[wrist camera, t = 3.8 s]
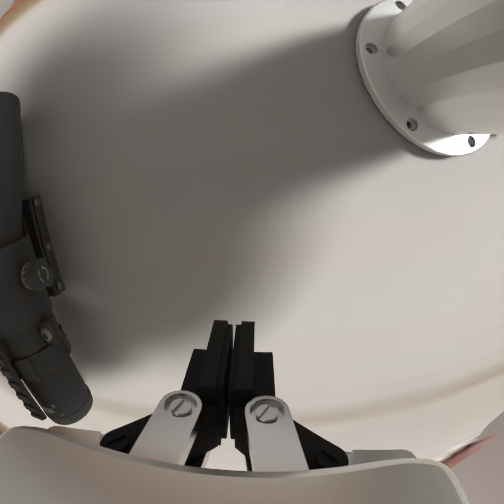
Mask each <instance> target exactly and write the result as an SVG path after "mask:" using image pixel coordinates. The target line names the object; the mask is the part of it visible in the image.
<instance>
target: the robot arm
mask: <svg viewBox="0 0 504 504" xmlns="http://www.w3.org/2000/svg"><path fill="white" fill-rule="evenodd" d="M367 50H368V51H369V52H370V53H369V52H368V51H367ZM356 56H357V61H358V66H359V71H360V73H361V76H362V78H363V81H364V84H365V86H366V88H367V90H368V92H369V94H370V96H371V97H372V99H373V101H374V103H375V104H376V106H377V107H378V109H379V110H380V111H381V113H382V114H383V116H384V117H385V118H386V119H387V120H388V121H389V122H390V124H391V125H392V126H393V127H394V128H395V129H396V130H397V131H398V132H399V133H400V134H402V135H403V136H404V137H405V138H407V139H408V140H409V141H410V142H412V143H413V144H415V145H417V146H419V147H420V148H422V149H424V150H426V151H429V152H432V153H434V154H437V155H445V156H464V155H467V154H471V153H473V152H474V151H476V150H478V149H479V148H481V147H482V145H483V144H484V143H485V142H486V141H487V140H488V138H489V136H490V134H500V135H504V0H384V1H381V2H379V3H378V4H376V5H375V6H373V7H372V8H371V9H370V10H369V11H368V13H367V14H366V15H365V16H364V18H363V20H362V22H361V23H360V25H359V27H358V32H357V36H356ZM407 123H408V125H409V127H407ZM254 324H255V322H245V321H242V322H241V325H236V331H235V339H234V347H233V325H232V324H228V321H221V320H214V323H213V327H212V331H211V335H210V338H209V342H208V346H207V350H203V349H194V350H193V353H192V356H191V359H190V362H189V366H188V369H187V372H186V375H185V378H184V381H183V385H182V388H181V390H180V391H173V392H170V393H168V394H167V395H165V396H164V397H163V398H162V399H161V401H160V402H159V404H158V406H157V407H156V409H155V411H154V412H153V414H151V415H148V416H146V417H144V418H141V419H139V420H137V421H134V422H132V423H130V424H127V425H125V426H122V427H120V428H117V429H115V430H112V431H110V432H108V433H106V434H101V432H100V431H90V430H82V429H74V428H68V427H61V426H53V427H50V428H49V429H44V428H39V427H29V426H18V427H13V428H10V429H8V430H6V431H5V432H4V433H3V434H2V435H1V436H0V504H470V503H469V500H468V498H467V496H466V494H465V491H464V490H463V488H462V486H461V484H460V482H459V481H458V479H457V477H456V476H455V474H454V473H453V472H452V471H451V470H450V469H449V468H448V467H447V466H446V465H444V464H443V463H440V462H438V461H433V460H428V459H418V458H416V457H415V456H414V455H413V453H411V452H409V451H407V450H353V451H352V452H344V451H343V450H342V449H341V448H339V447H338V446H336V445H334V444H332V443H330V442H329V441H327V440H325V439H323V438H322V437H320V436H318V435H317V434H315V433H313V432H312V431H310V430H308V429H307V428H305V427H304V426H302V425H300V424H299V423H297V422H296V421H294V420H293V419H292V416H291V413H290V410H289V407H288V405H287V404H286V403H285V402H284V401H283V400H281V399H279V398H277V397H275V384H274V369H273V354H272V352H254ZM229 416H230V435H231V439H235V448H236V449H238V450H239V451H240V452H241V453H242V454H244V459H245V466H246V471H232V470H218V469H208V468H205V466H206V463H207V461H208V458H209V453H210V450H212V449H214V448H215V447H217V446H218V445H221V438H227V430H228V421H229Z"/></svg>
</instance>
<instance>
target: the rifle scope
mask: <svg viewBox="0 0 504 504" xmlns="http://www.w3.org/2000/svg"><path fill="white" fill-rule="evenodd" d="M23 162H24V161H23V152H22V139H21V118H20V101H19V98H18V97H17V96H16V95H14V94H12V93H8V92H0V368H1V369H0V370H1V372H2V374H3V375H4V376H6V377H7V379H8V383H9V385H10V386H11V388H13V389H14V390H15V391H16V395H17V396H18V398H19V399H21V400H22V401H23V403H24V404H23V405H24V406H25V408H26V409H28V410H29V411H30V412H31V415H32V416H33V417H35V418H37V419H40V420H44V419H46V417H47V416H48V417H49V418H50V419H51V420H52V421H54V422H55V423H57V424H61V425H69V424H72V423H76V422H77V421H79V420H81V419H82V418H83V417H84V416H86V415H87V413H88V412H89V410H90V409H91V407H92V403H93V399H92V395H91V392H90V390H89V388H88V386H87V385H86V384H85V382H84V380H83V379H82V377H81V375H80V374H79V372H78V370H77V368H76V366H75V365H74V363H73V361H72V359H71V357H70V355H69V354H70V351H71V346H70V343H69V341H68V339H67V337H66V335H65V333H64V330H63V328H62V326H61V324H59V325H58V323H57V321H56V319H55V316H54V314H53V312H52V303H51V300H50V297H49V296H57V295H58V294H60V293H61V292H63V291H64V290H65V287H64V285H63V282H62V279H61V276H60V273H59V270H58V267H57V263H56V260H55V257H54V253H53V250H52V246H51V243H50V239H49V235H48V231H47V227H46V223H45V218H44V214H43V209H42V204H41V199H40V195H38V196H35V197H32V198H28V199H26V200H23V201H22V177H23ZM21 379H22V380H23V381H24V383H25V384H26V386H27V387H28V389H29V390H30V392H31V393H32V395H33V396H34V398H35V399H36V400H37V402H38V403H39V405H40V406H41V407H42V409H43V410H44V412H45V413H46V415H47V416H46V415H45V414H44V413H43V411H42V410H41V409H40V407H39V406H38V404H37V403H36V402H35V400H34V399H33V397H32V396H31V395H30V393H29V392H28V390H27V389H26V387H25V386H24V384H23V383H22V381H21Z"/></svg>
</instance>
